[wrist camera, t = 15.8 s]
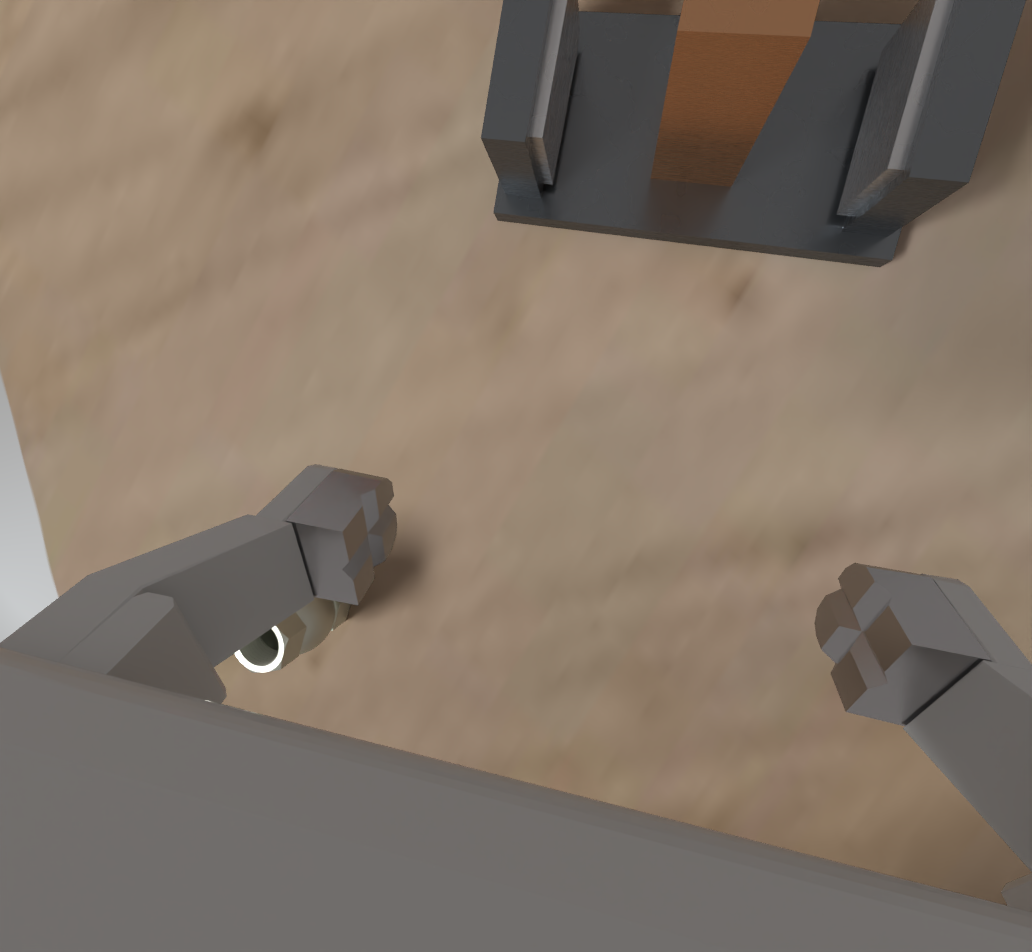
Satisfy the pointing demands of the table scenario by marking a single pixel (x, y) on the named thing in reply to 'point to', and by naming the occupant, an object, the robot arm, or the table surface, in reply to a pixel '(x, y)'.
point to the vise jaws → (779, 146)
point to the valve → (293, 636)
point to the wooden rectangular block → (726, 83)
